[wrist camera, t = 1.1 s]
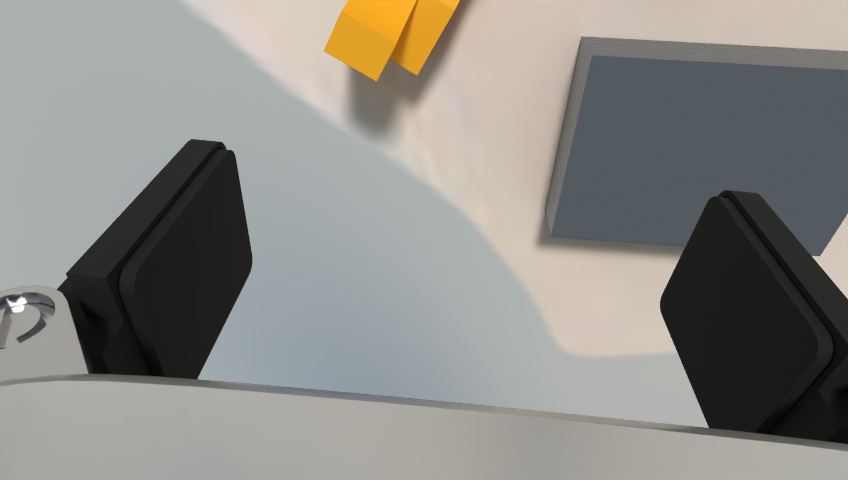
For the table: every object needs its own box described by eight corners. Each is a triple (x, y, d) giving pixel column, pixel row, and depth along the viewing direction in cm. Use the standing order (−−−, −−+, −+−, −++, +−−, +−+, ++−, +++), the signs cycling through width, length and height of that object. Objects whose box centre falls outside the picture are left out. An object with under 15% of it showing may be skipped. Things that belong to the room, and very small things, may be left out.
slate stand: (896, 53, 27) (937, 75, 24) (795, 226, 33) (820, 256, 31) (581, 36, 27) (592, 55, 25) (545, 209, 34) (550, 236, 32)
